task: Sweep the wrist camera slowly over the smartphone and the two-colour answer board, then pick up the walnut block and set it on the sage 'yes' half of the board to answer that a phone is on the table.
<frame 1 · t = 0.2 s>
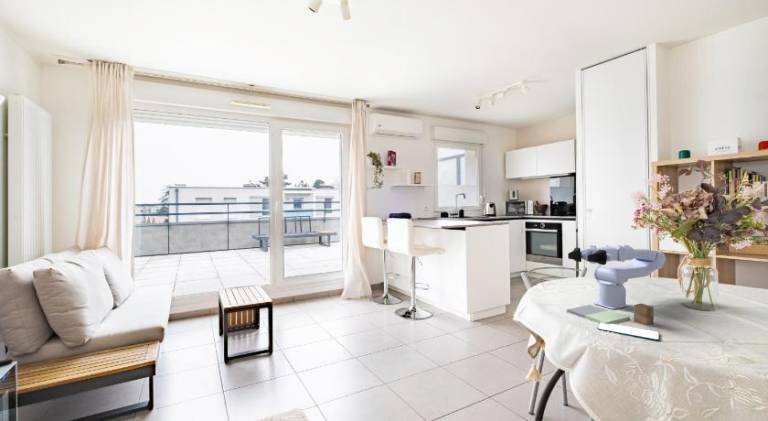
hand: (578, 257, 128), 21 cm above the table, tool horizontal, fingers open, 7 cm apart
answer board: (597, 315, 125), on the table
smartphone: (627, 333, 110), on the table
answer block: (643, 322, 118), on the table
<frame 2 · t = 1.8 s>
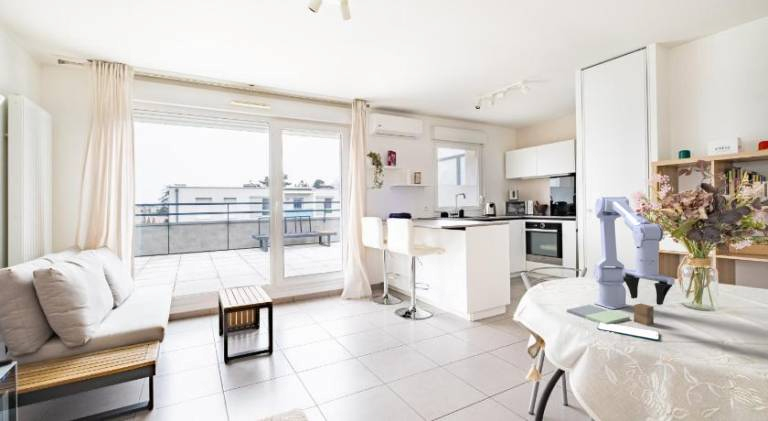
hand: (646, 301, 112), 9 cm above the table, tool pointing down, fingers open, 7 cm apart
nothing on the table moved.
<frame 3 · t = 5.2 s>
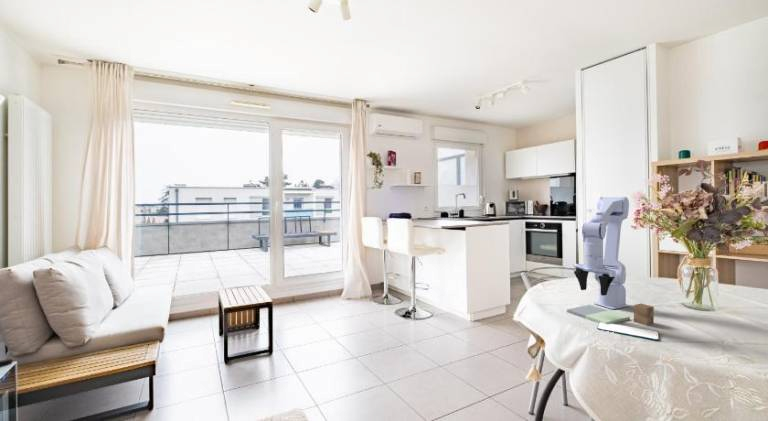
hand: (593, 292, 123), 9 cm above the table, tool pointing down, fingers open, 7 cm apart
nothing on the table moved.
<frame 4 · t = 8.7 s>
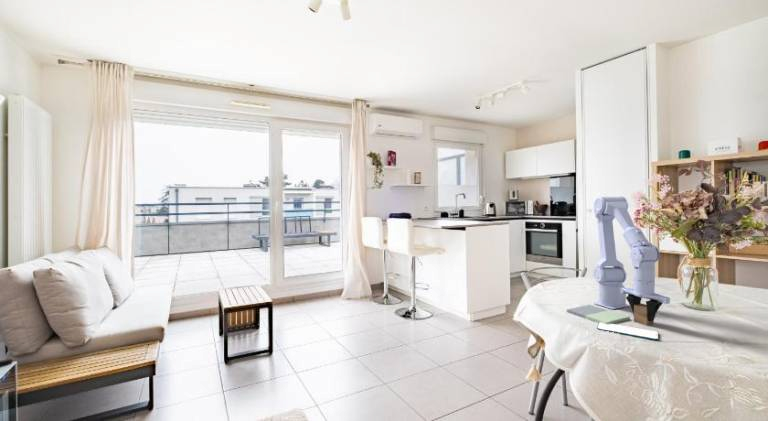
hand: (643, 318, 118), 1 cm above the table, tool pointing down, fingers closed on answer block, 4 cm apart
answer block: (643, 322, 118), on the table, touching gripper
everything else where it was.
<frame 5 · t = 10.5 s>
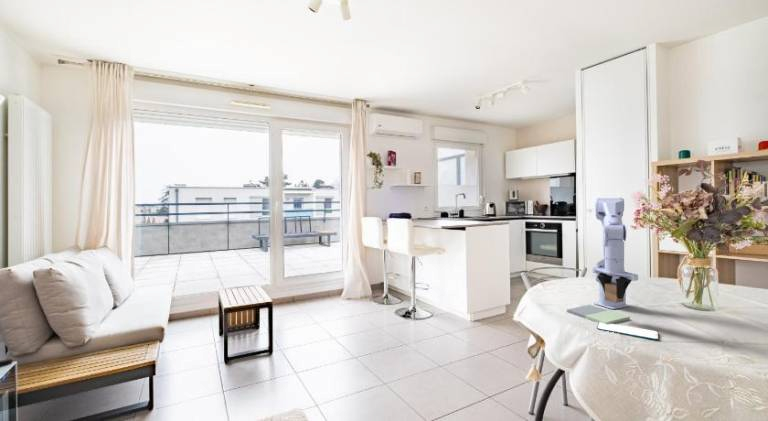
hand: (613, 296, 121), 8 cm above the table, tool pointing down, fingers closed on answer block, 4 cm apart
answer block: (613, 300, 121), point 7 cm above the table, touching gripper
everything else where it was.
when the fingers open (4 cm above the table, at t = 12.3 s): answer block drops 1 cm, resting on answer board.
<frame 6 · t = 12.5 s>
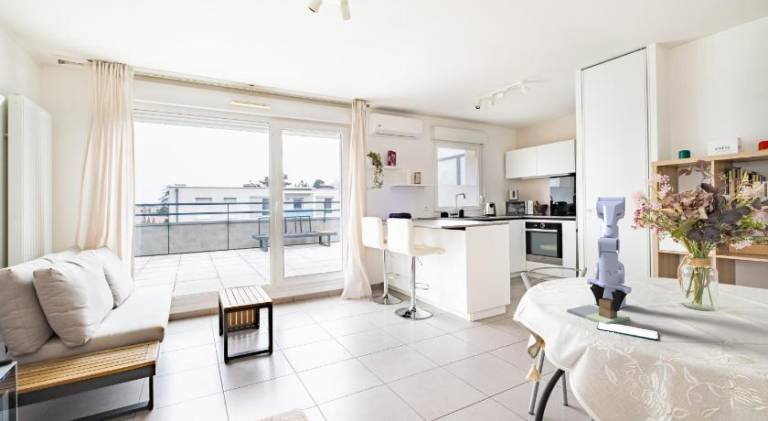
hand: (608, 308, 122), 4 cm above the table, tool pointing down, fingers open, 5 cm apart
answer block: (607, 316, 122), point 1 cm above the table, touching answer board
everything else where it was.
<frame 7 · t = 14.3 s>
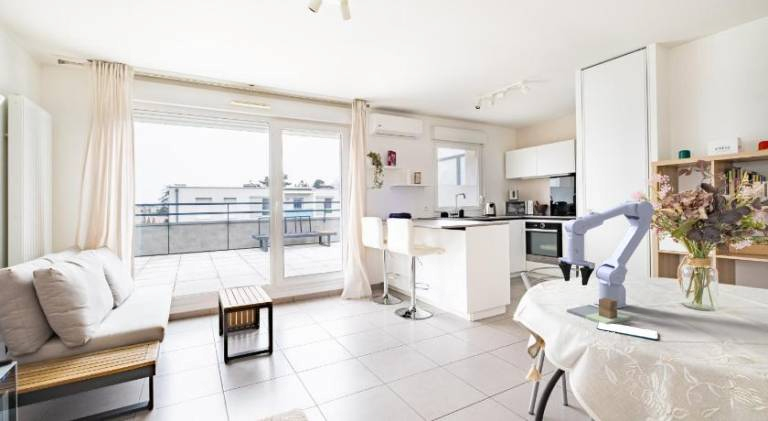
hand: (575, 282, 136), 9 cm above the table, tool pointing down, fingers open, 7 cm apart
nothing on the table moved.
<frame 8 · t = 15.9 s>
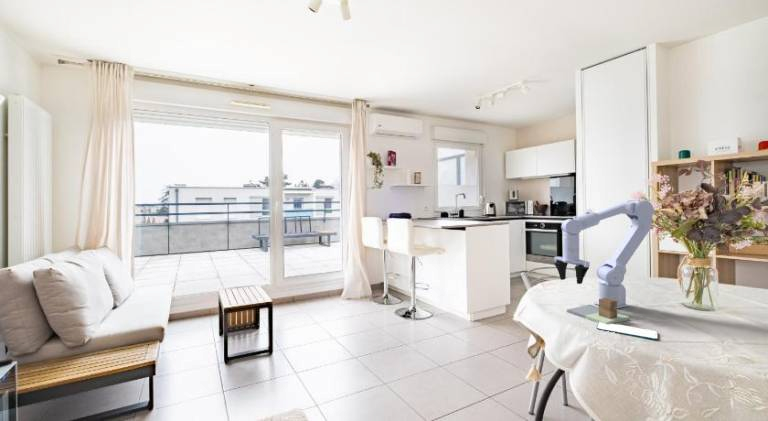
hand: (571, 281, 139), 9 cm above the table, tool pointing down, fingers open, 7 cm apart
nothing on the table moved.
at the end: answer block inside the target area on the answer board (0.3 cm from its centre), point 1.0 cm above the answer board's base; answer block tilted 0°; smartphone moved 0.7 cm from its start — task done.
